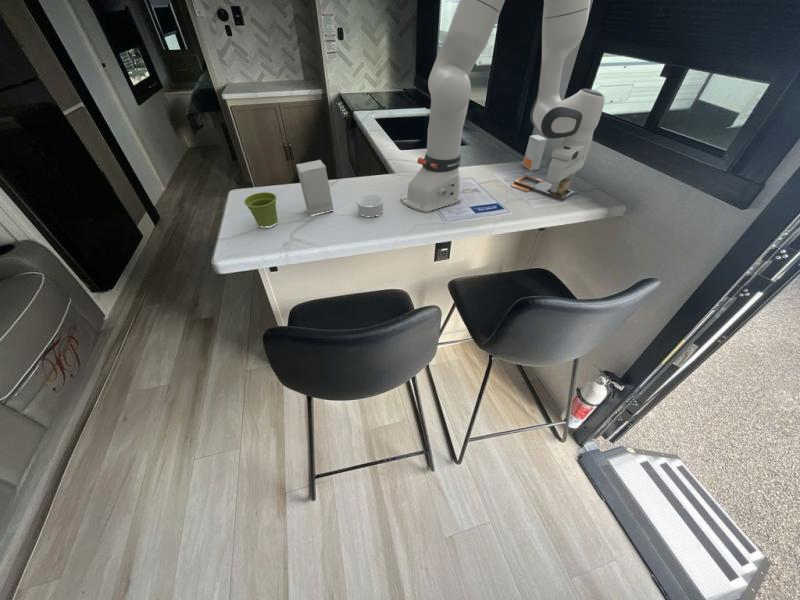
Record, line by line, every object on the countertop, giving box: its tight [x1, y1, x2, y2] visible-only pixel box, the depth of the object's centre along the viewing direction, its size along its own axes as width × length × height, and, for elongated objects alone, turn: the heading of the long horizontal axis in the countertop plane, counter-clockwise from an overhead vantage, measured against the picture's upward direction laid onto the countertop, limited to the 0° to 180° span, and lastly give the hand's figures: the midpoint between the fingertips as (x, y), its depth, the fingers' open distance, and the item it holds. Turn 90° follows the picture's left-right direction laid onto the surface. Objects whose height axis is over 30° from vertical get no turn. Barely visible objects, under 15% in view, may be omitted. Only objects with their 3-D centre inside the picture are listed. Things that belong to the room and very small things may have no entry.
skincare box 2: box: [522, 134, 548, 171], centre depth 132 cm, size 6×4×12 cm
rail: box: [510, 174, 575, 202], centre depth 120 cm, size 11×20×1 cm, turn 43°
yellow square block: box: [549, 178, 573, 197], centre depth 116 cm, size 4×4×6 cm
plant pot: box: [243, 191, 279, 227], centre depth 101 cm, size 9×9×9 cm
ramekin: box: [356, 194, 384, 217], centre depth 108 cm, size 9×9×4 cm
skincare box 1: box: [295, 159, 334, 216], centre depth 105 cm, size 8×7×16 cm
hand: (560, 187), depth 116 cm, fingers open, 8 cm apart
